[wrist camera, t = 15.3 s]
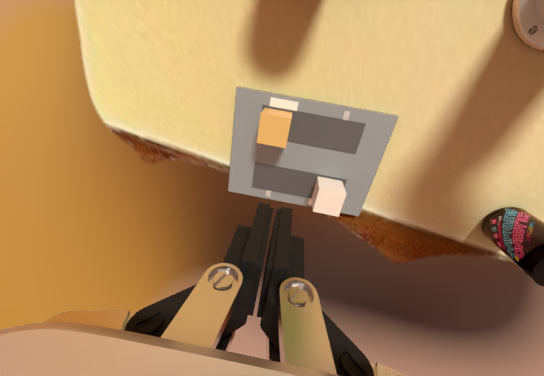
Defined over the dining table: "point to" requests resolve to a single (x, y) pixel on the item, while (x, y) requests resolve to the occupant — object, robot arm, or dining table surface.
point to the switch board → (307, 149)
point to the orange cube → (274, 127)
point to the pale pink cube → (328, 196)
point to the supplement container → (518, 239)
